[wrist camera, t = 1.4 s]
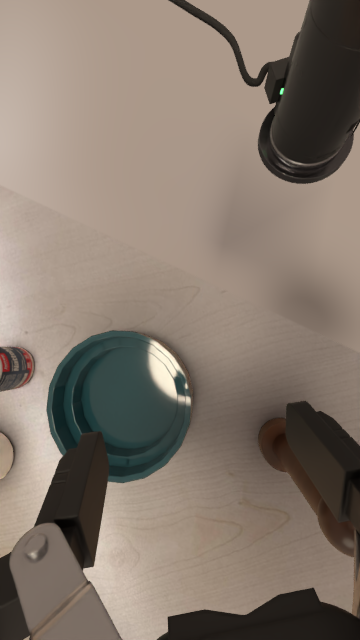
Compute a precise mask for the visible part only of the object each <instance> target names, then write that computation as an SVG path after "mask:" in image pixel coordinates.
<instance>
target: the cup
mask: <svg viewBox="0 0 360 640" xmlns="http://www.w3.org/2000/svg"><path fill="white" fill-rule="evenodd" d="M12 462H13V447H12V445H11V443H10V441H9V439H8V438H7V437H6V436H4V435H3V434H2V433H0V479H2V478H3V477H5V475H6V474H7V473H8V471H9V470H10V469H11V465H12Z"/></svg>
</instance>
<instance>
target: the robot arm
mask: <svg viewBox="0 0 360 640" xmlns="http://www.w3.org/2000/svg"><path fill="white" fill-rule="evenodd" d="M168 1H170V2H172V3H174V4H175V5H177V6H178V7H180V8H182V9H183V10H185V11H186V12H188V13H189V14H191V15H193V16H194V17H196V18H198V19H199V20H201V21H203V22H204V23H206V24H208V25H209V26H211V27H212V28H214V29H215V30H216V31H217V32H219V33H220V34H221V35H222V36H223V37H224V38H225V39H226V40H227V41H228V43H229V44H230V45H231V47H232V49H233V52H234V55H235V57H236V61H237V64H238V67H239V71H240V74H241V76H242V78H243V80H244V82H245V83H246V84H247V85H249V86H251V87H258V86H260V85H261V83H262V82H263V80H264V78H265V76H266V74H267V72H268V75H267V79H266V84H265V91H266V94H267V97H268V100H269V103H270V104H272V103H275V102H276V105H275V109H274V112H273V116H274V119H273V122H272V125H271V128H270V133H269V141H270V146H271V148H272V150H273V152H274V154H275V155H276V156H277V158H278V159H279V160H281V161H282V162H283V163H285V164H287V165H288V166H291V167H294V168H298V169H313V168H317V167H320V166H323V165H325V164H326V163H328V162H330V161H331V160H332V159H333V158H334V157H335V156H336V155H337V154H338V152H339V151H340V149H341V148H342V146H343V144H344V142H345V140H346V139H347V137H348V136H349V134H350V133H351V131H352V130H353V129H354V127H355V126H356V127H355V129H354V131H355V130H356V128H357V126H358V124H359V123H360V0H310V1H309V4H308V8H307V11H306V15H305V18H304V21H303V24H302V28H301V31H300V32H298V34H297V35H296V36H295V39H294V42H293V46H292V49H291V53H290V56H289V57H287V58H284V59H281V60H278V61H275V62H268V63H267V64H265V65H264V66H263V67H262V69H261V71H260V73H259V75H258V78H256V79H254V78H252V77H251V76H249V74H248V72H247V70H246V67H245V64H244V61H243V58H242V54H241V51H240V48H239V46H238V44H237V41H236V39H235V37H234V36H233V35H232V34H231V32H230V31H229V30H228V29H227V28H226V27H225V26H224V25H222V24H221V23H220V22H218V21H217V20H216V19H214V18H213V17H211V16H210V15H208V14H206V13H205V12H203V11H201V10H200V9H198V8H196V7H195V6H193V5H191V4H190V3H188V2H187V1H185V0H168ZM356 124H357V125H356ZM354 131H353V133H354ZM353 133H352V135H353ZM352 135H351V136H352ZM350 138H351V137H350ZM285 432H286V439H287V442H288V444H289V446H290V448H291V450H292V451H293V453H294V454H295V456H296V457H297V459H298V461H299V462H300V464H301V465H302V467H303V468H304V470H305V471H306V473H307V475H308V476H309V478H310V479H311V481H312V482H313V484H314V485H315V487H316V489H317V490H318V492H319V493H320V495H321V496H322V498H323V499H324V501H325V503H326V504H327V506H328V507H329V509H330V510H331V512H332V513H333V515H334V517H335V518H336V520H337V521H338V523H340V522H346V521H351V522H352V524H353V525H354V527H355V533H354V592H353V605H352V614H351V613H349V612H347V611H346V610H344V609H341V608H339V607H337V606H334V605H331V604H328V603H324V602H320V601H319V598H318V596H317V594H316V592H315V590H314V588H310V589H305V590H300V591H295V592H290V593H285V594H280V595H278V596H276V597H274V598H273V599H271V600H270V601H268V602H266V603H265V604H263V605H262V606H260V607H258V608H257V609H255V610H254V611H252V612H250V613H249V614H247V615H238V614H231V613H224V612H218V611H211V610H200V611H195V612H190V613H185V614H180V615H175V616H170V617H168V632H167V633H165V634H164V635H162V636H161V637H159V638H158V639H157V640H360V446H359V445H358V444H357V442H356V441H355V440H354V439H353V438H352V437H350V436H349V434H348V433H347V432H346V431H345V430H344V429H342V427H341V426H340V425H339V424H338V423H337V422H336V421H335V420H334V419H333V418H332V417H330V416H328V415H327V414H325V413H323V412H321V411H318V412H316V411H315V410H314V409H313V408H312V407H311V405H310V404H309V403H308V402H306V401H301V402H294V403H288V404H287V407H286V431H285ZM108 476H109V461H108V456H107V452H106V447H105V443H104V439H103V435H102V432H101V431H97V432H90V433H83V434H82V435H81V437H80V440H79V443H78V446H77V448H73V449H69V450H68V451H67V452H66V453H65V455H64V456H63V457H62V458H61V459H60V461H59V464H58V466H57V469H56V471H55V475H54V477H53V479H52V482H51V485H50V487H49V490H48V492H47V495H46V497H45V500H44V502H43V505H42V508H41V510H40V513H39V515H38V518H37V521H36V523H35V526H34V528H32V529H31V530H29V531H28V532H27V533H25V534H24V535H23V536H22V537H21V538H20V540H19V541H18V542H17V544H16V545H15V547H14V549H13V550H12V552H10V553H9V554H7V555H5V556H3V557H1V558H0V640H23V639H25V638H26V637H28V636H30V638H29V640H122V639H121V637H120V635H119V633H118V631H117V629H116V627H115V625H114V624H113V622H112V620H111V618H110V616H109V614H108V612H107V610H106V609H105V607H104V605H103V603H102V601H101V599H100V597H99V595H98V594H97V592H96V590H95V588H94V586H93V585H92V583H91V582H90V581H89V582H88V580H87V578H86V577H85V575H84V573H83V568H88V567H94V562H95V556H96V549H97V543H98V537H99V531H100V525H101V519H102V513H103V507H104V501H105V495H106V489H107V483H108Z"/></svg>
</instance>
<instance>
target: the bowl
mask: <svg viewBox="0 0 360 640" xmlns="http://www.w3.org/2000/svg"><path fill="white" fill-rule="evenodd" d="M192 406H193V388H192V384H191V380H190V376H189V373H188V370H187V369H186V367H185V366H184V364H183V362H182V361H181V359H180V358H179V356H178V355H177V354H176V353H175V352H174V351H173V350H172V349H171V348H169V347H168V346H167V345H166V344H165V343H163V342H162V341H160V340H157V339H155V338H152V337H150V336H147V335H145V334H141V333H137V332H130V331H114V330H113V331H109V332H105V333H101V334H98V335H94V336H91V337H89V338H88V339H86V340H85V341H83V342H82V343H80V344H78V345H77V346H75V347H74V348H73V349H72V350H71V351H70V352H69V353H68V354H67V356H66V357H65V358H64V359H63V360H62V362H61V363H60V364H59V366H58V367H57V369H56V372H55V374H54V376H53V379H52V381H51V383H50V386H49V392H48V401H47V415H48V421H49V427H50V432H51V435H52V437H53V439H54V441H55V443H56V444H57V446H58V448H59V450H60V452H61V454H62V455H63V456H64V455H65V453H66V452H67V451H68V450H69V449H73V448H77V446H78V443H79V440H80V437H81V435H82V434H83V433H90V432H97V431H101V432H102V435H103V439H104V443H105V447H106V452H107V456H108V461H109V476H108V482H116V483H125V482H130V481H134V480H138V479H143V478H146V477H147V476H149V475H151V474H152V473H154V472H155V471H157V470H159V469H160V468H162V467H163V466H165V465H166V464H167V463H168V462H169V460H170V459H171V458H172V457H173V455H174V454H175V453H176V452H177V451H178V449H179V448H180V447H181V445H182V443H183V440H184V437H185V435H186V432H187V430H188V427H189V424H190V420H191V416H192Z"/></svg>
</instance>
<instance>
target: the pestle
mask: <svg viewBox="0 0 360 640" xmlns="http://www.w3.org/2000/svg"><path fill="white" fill-rule="evenodd" d="M285 431H286V419H285V418H275V419H272V420H270V421H268V422H267V423H265V424H264V425H263V427H262V428H261V430H260V433H259V437H258V443H259V447H260V450H261V452H262V454H263V456H264V458H265V459H266V461H267V462H268V463H269V464H270V465H271V466H272V467H273V468H275V469H277V470H279V471H282V472H288V474H289V475H290V476H291V478H292V479H293V481H294V482H295V484H296V485H297V487H298V488H299V490H300V491H301V493H302V494H303V496H304V497H305V499H306V500H307V502H308V503H309V505H310V506H311V508H312V509H313V510H314V512H315V513H316V515H317V516H318V522H319V525H320V528H321V530H322V532H323V534H324V535H325V537H326V538H327V540H328V541H329V542H330V543H331V544H332V545H333V546H334V547H335V548H336V549H337V550H339V551H340V552H342V553H344V554H346V555H348V556H351V557H354V533H355V527H354V525H353V524H352V522H351V521H346V522H340V523H338V521H337V520H336V518H335V517H334V515H333V513H332V512H331V510H330V509H329V507H328V506H327V504H326V503H325V501H324V499H323V498H322V496H321V495H320V493H319V492H318V490H317V489H316V487H315V485H314V484H313V482H312V481H311V479H310V478H309V476H308V475H307V473H306V471H305V470H304V468H303V467H302V465H301V464H300V462H299V461H298V459H297V457H296V456H295V454H294V453H293V451H292V450H291V448H290V446H289V444H288V442H287V439H286V432H285Z"/></svg>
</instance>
